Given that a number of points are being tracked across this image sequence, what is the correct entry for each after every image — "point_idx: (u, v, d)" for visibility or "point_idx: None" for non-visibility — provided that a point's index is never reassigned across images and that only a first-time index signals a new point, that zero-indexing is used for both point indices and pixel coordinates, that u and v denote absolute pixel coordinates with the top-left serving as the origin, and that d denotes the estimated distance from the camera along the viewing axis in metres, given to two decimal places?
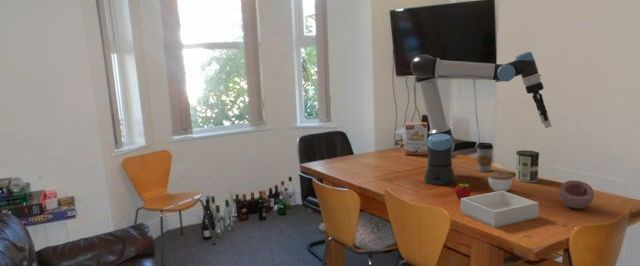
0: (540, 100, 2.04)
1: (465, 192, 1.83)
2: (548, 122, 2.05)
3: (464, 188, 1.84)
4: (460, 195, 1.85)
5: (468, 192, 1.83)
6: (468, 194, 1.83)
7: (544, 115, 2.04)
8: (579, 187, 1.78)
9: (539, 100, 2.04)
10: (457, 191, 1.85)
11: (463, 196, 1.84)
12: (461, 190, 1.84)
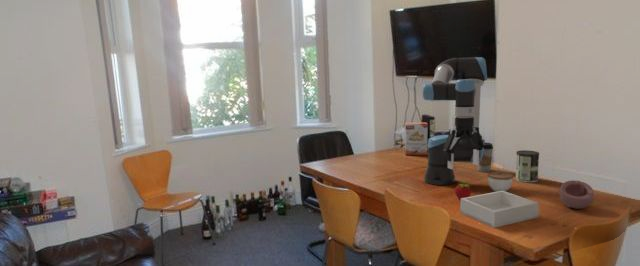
0: (450, 137, 1.79)
1: (465, 192, 1.83)
2: (450, 163, 1.81)
3: (464, 188, 1.84)
4: (460, 195, 1.85)
5: (468, 192, 1.83)
6: (468, 194, 1.83)
7: (447, 154, 1.81)
8: (579, 187, 1.78)
9: (449, 136, 1.80)
10: (457, 191, 1.85)
11: (463, 196, 1.84)
12: (461, 190, 1.84)
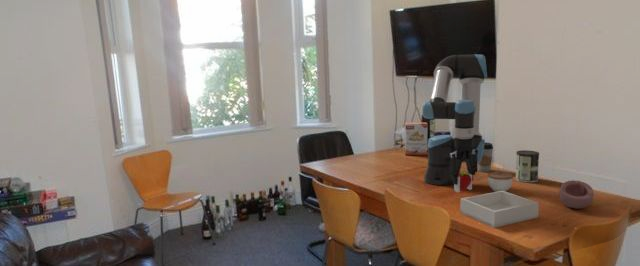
0: (452, 161, 1.82)
1: (465, 180, 1.83)
2: (457, 186, 1.85)
3: (464, 176, 1.84)
4: (460, 183, 1.84)
5: (468, 180, 1.83)
6: (468, 182, 1.83)
7: (453, 177, 1.84)
8: (579, 187, 1.78)
9: (451, 160, 1.82)
10: None
11: (463, 184, 1.84)
12: (462, 178, 1.83)
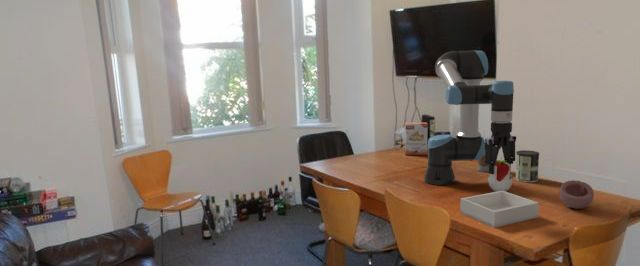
0: (488, 148, 1.65)
1: (503, 169, 1.65)
2: (493, 176, 1.67)
3: (502, 164, 1.66)
4: (497, 172, 1.67)
5: (506, 169, 1.65)
6: (506, 171, 1.66)
7: (489, 166, 1.67)
8: (579, 187, 1.78)
9: (487, 147, 1.65)
10: None
11: (501, 173, 1.66)
12: (499, 166, 1.66)
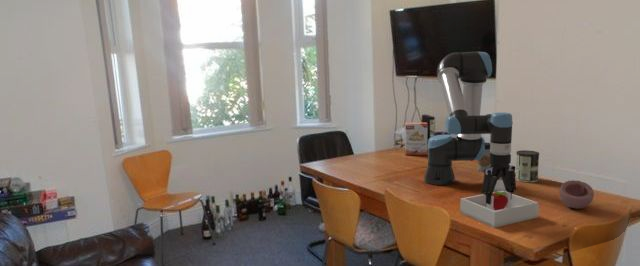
0: (486, 178, 1.66)
1: (502, 201, 1.67)
2: (490, 206, 1.69)
3: (500, 196, 1.68)
4: (496, 204, 1.69)
5: (505, 201, 1.67)
6: (505, 203, 1.68)
7: (486, 196, 1.68)
8: (579, 187, 1.78)
9: (486, 177, 1.67)
10: None
11: (499, 205, 1.68)
12: (497, 198, 1.68)
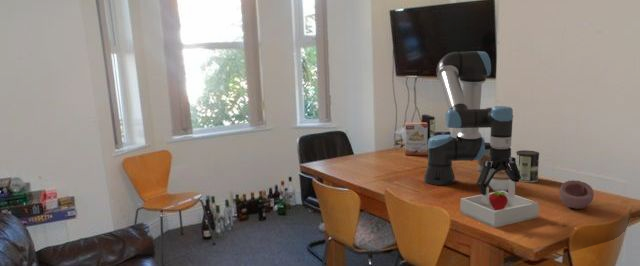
0: (485, 169, 1.66)
1: (501, 201, 1.67)
2: (485, 197, 1.68)
3: (500, 196, 1.68)
4: (496, 204, 1.69)
5: (505, 201, 1.67)
6: (505, 203, 1.68)
7: (482, 187, 1.67)
8: (579, 187, 1.78)
9: (484, 169, 1.66)
10: (492, 200, 1.70)
11: (499, 205, 1.68)
12: (497, 199, 1.68)
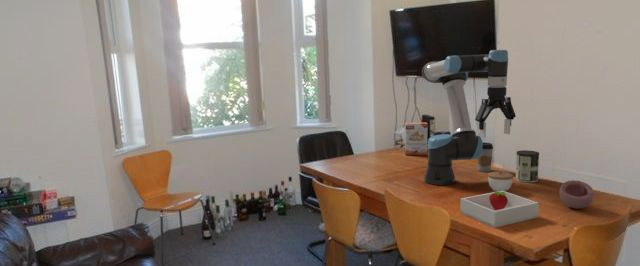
0: (483, 106, 1.85)
1: (501, 201, 1.67)
2: (483, 132, 1.86)
3: (500, 196, 1.68)
4: (496, 204, 1.69)
5: (505, 201, 1.67)
6: (505, 203, 1.68)
7: (479, 123, 1.86)
8: (579, 187, 1.78)
9: (482, 106, 1.85)
10: (492, 200, 1.70)
11: (499, 205, 1.68)
12: (497, 199, 1.68)
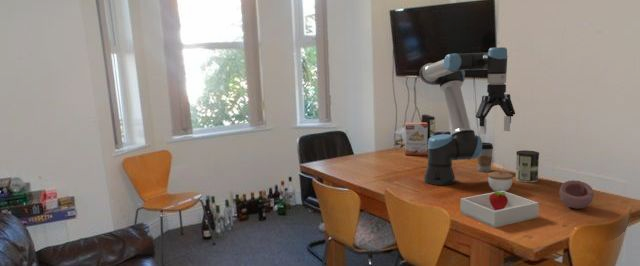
0: (483, 103, 1.87)
1: (501, 201, 1.67)
2: (483, 128, 1.88)
3: (500, 196, 1.68)
4: (496, 204, 1.69)
5: (505, 201, 1.67)
6: (505, 203, 1.68)
7: (480, 119, 1.88)
8: (579, 187, 1.78)
9: (482, 102, 1.87)
10: (492, 200, 1.70)
11: (499, 205, 1.68)
12: (497, 199, 1.68)
